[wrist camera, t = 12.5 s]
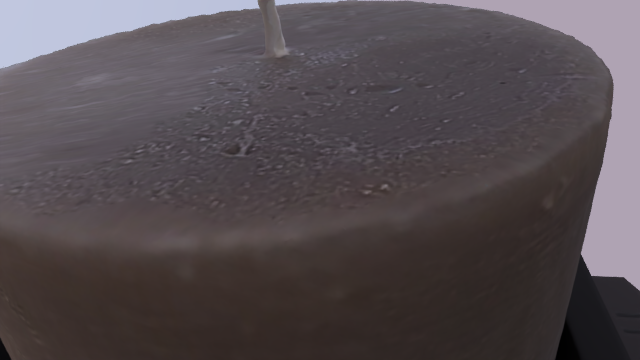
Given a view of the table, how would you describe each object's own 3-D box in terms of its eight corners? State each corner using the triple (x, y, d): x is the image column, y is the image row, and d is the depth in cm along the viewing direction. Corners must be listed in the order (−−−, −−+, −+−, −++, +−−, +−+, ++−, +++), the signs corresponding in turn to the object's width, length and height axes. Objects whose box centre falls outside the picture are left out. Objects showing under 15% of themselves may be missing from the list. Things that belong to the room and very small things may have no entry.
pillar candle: (565, 766, 10) (1016, 28, 3) (97, 777, 11) (-561, 128, 3) (454, 373, 19) (500, -78, 11) (194, 386, 19) (71, -47, 12)
